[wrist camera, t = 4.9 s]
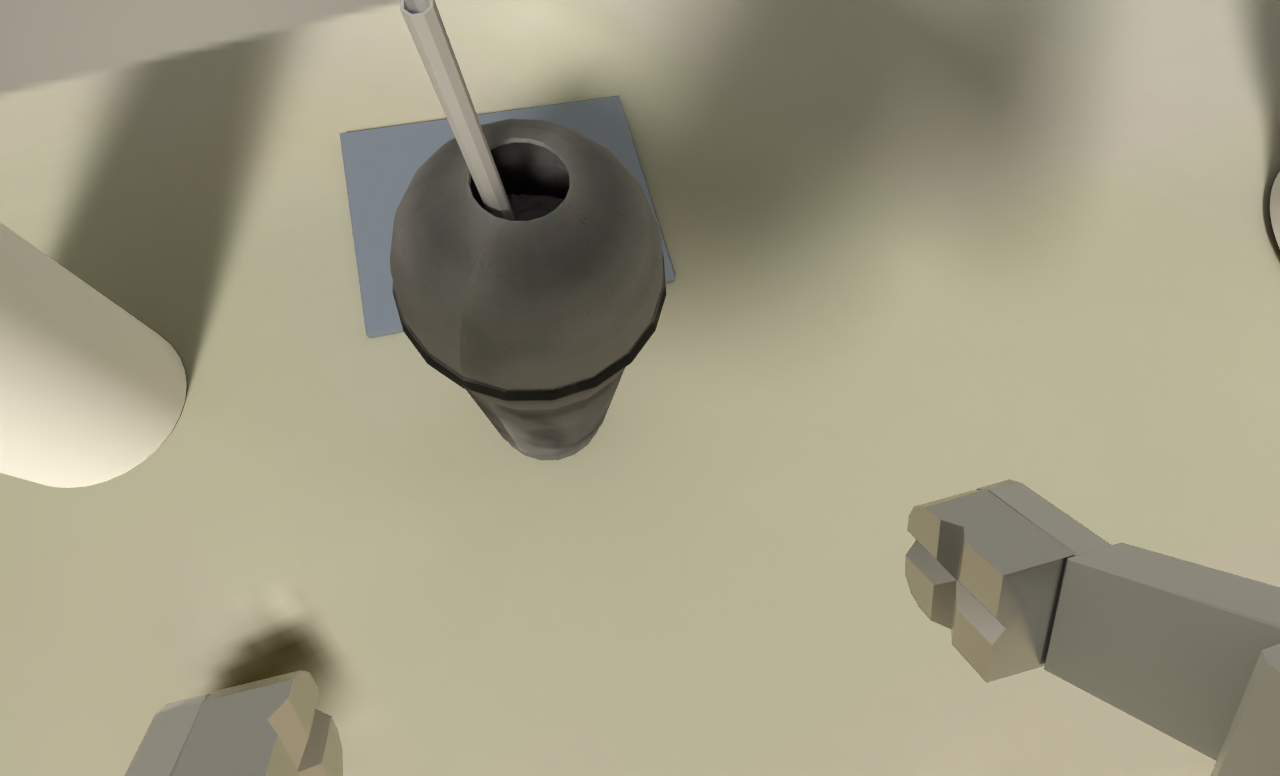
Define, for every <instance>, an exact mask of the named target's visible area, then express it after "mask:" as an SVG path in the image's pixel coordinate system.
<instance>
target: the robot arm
mask: <svg viewBox="0 0 1280 776" xmlns="http://www.w3.org/2000/svg"><path fill="white" fill-rule="evenodd" d="M1270 216H1271V222H1272V227H1273V231H1274V235H1275V238H1276V241H1277V243H1278V246H1279V248H1280V171H1279V173H1278V175H1277V177H1276V179H1275V181H1274V184H1273V187H1272V191H1271V197H1270ZM908 531H909V533H910V534H911V535H912V536H913V537H914V538H915V539H916V541H915V543H914V544H913V545H912V547H911V548H910V550H909V551H908V553H907V554H906V561H905V575H906V578H907V582H908V585H909V588H910V592H911V594H912V596H913V597H914V599H915V601H916V602H917V604H918V606H919V607H920V608H921V610H922V611H923V612H924V613H925V614H926V615H927V617H928V618H929V619H930V620H931V621H934V622H936V623H938V624H941V625H943V626H945V627H948V628H950V629H951V636H952V645H953V646H954V647H955V648H956V649H957V650H958V652H959V653H960V654H961V655H962V656H963V657H964V658H965V659H966V660H967V662H968V663H969V664H970V665H971V666H972V667H973V668H974V669H975V670H976V672H977V673H978V674H979V675H980V676H981V677H982V678H983V679H984V681H985V682H990V681H993V680H997V679H1000V678H1004V677H1007V676H1011V675H1014V674H1017V673H1021V672H1024V671H1028V670H1031V669H1035V668H1038V667H1042V666H1045V667H1044V669H1045V670H1046V671H1048V672H1050V673H1052V674H1054V675H1056V676H1058V677H1060V678H1062V679H1063V680H1065V681H1067V682H1069V683H1071V684H1073V685H1075V686H1077V687H1078V688H1080V689H1082V690H1084V691H1086V692H1088V693H1090V694H1092V695H1094V696H1095V697H1097V698H1099V699H1101V700H1103V701H1105V702H1107V703H1109V704H1111V705H1112V706H1114V707H1116V708H1118V709H1120V710H1122V711H1124V712H1126V713H1127V714H1129V715H1131V716H1133V717H1135V718H1137V719H1139V720H1141V721H1143V722H1144V723H1146V724H1148V725H1150V726H1152V727H1154V728H1156V729H1158V730H1159V731H1161V732H1163V733H1165V734H1167V735H1169V736H1171V737H1173V738H1175V739H1176V740H1178V741H1180V742H1182V743H1184V744H1186V745H1188V746H1190V747H1192V748H1193V749H1195V750H1197V751H1199V752H1201V753H1203V754H1205V755H1207V756H1208V757H1210V758H1212V759H1214V760H1216V764H1215V766H1214V769H1213V771H1212V774H1211V776H1280V588H1279V587H1276V586H1272V585H1269V584H1265V583H1262V582H1258V581H1255V580H1251V579H1248V578H1244V577H1241V576H1237V575H1234V574H1230V573H1227V572H1223V571H1219V570H1216V569H1212V568H1209V567H1205V566H1202V565H1198V564H1195V563H1191V562H1188V561H1184V560H1181V559H1177V558H1174V557H1170V556H1167V555H1163V554H1160V553H1156V552H1153V551H1149V550H1146V549H1142V548H1139V547H1135V546H1132V545H1128V544H1125V543H1119V544H1116V545H1111V544H1109V543H1108V542H1106V541H1105V540H1103V539H1102V538H1100V537H1099V536H1098V535H1096V534H1095V533H1093V532H1092V531H1090V530H1089V529H1087V528H1086V527H1085V526H1083V525H1082V524H1080V523H1079V522H1077V521H1076V520H1074V519H1073V518H1072V517H1070V516H1069V515H1067V514H1066V513H1064V512H1063V511H1061V510H1060V509H1059V508H1057V507H1056V506H1054V505H1053V504H1051V503H1050V502H1048V501H1047V500H1045V499H1044V498H1043V497H1041V496H1040V495H1038V494H1037V493H1035V492H1034V491H1032V490H1031V489H1030V488H1028V487H1027V486H1025V485H1024V484H1022V483H1020V482H1017V481H1013V480H1006V481H1002V482H999V483H995V484H992V485H988V486H985V487H981V488H978V489H977V490H973V491H969V492H965V493H962V494H958V495H954V496H951V497H947V498H943V499H940V500H936V501H933V502H929V503H925V504H922V505H918V506H914V507H913V509H912V511H911V513H910V515H909V520H908ZM318 695H319V689H318V688H317V686H316V684H315V682H314V680H313V678H312V676H311V675H310V673H309V672H305V671H297V672H293V673H289V674H285V675H281V676H276V677H272V678H268V679H264V680H260V681H256V682H252V683H248V684H244V685H239V686H235V687H231V688H227V689H223V690H219V691H215V692H213V693H212V694H207V695H203V696H198V697H194V698H190V699H186V700H182V701H177V702H173V703H169V704H167V705H166V706H165V707H164V708H162V709H161V710H160V711H159V712H158V713H157V714H156V715H155V716H154V718H153V720H152V722H151V724H150V726H149V728H148V730H147V732H146V734H145V736H144V738H143V740H142V742H141V744H140V746H139V748H138V750H137V752H136V754H135V756H134V758H133V760H132V762H131V764H130V766H129V768H128V770H127V772H126V774H125V776H343V761H342V746H341V742H340V737H339V733H338V730H337V727H336V725H335V723H334V721H333V719H332V716H330V715H328V714H325V713H323V712H321V711H319V710H317V709H315V708H316V704H317V699H318Z"/></svg>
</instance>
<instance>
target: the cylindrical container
mask: <svg viewBox="0 0 1280 776" xmlns="http://www.w3.org/2000/svg"><path fill="white" fill-rule="evenodd" d="M186 388H187V383H186V374H185V370H184V367H183V364H182V361H181V359H180V357H179V355H178V354H177V352H176V351H175V350H174V348H173V347H172V345H170V344H169V343H168V342H167V341H166V340H165V339H164V338H162V337H161V336H160V335H159V334H157V333H156V332H154V331H153V330H152V329H150V328H149V327H147V326H146V325H145V324H143V323H142V322H140V321H139V320H137V319H136V318H135V317H133V316H132V315H130V314H129V313H128V312H126V311H125V310H123V309H122V308H121V307H119V306H118V305H116V304H115V303H113V302H112V301H111V300H109V299H108V298H106V297H105V296H104V295H102V294H101V293H99V292H98V291H96V290H95V289H94V288H92V287H91V286H89V285H88V284H87V283H85V282H84V281H82V280H81V279H80V278H78V277H77V276H75V275H74V274H72V273H71V272H70V271H68V270H67V269H65V268H64V267H63V266H61V265H60V264H58V263H57V262H56V261H54V260H53V259H51V258H50V257H48V256H47V255H46V254H44V253H43V252H41V251H40V250H39V249H37V248H36V247H34V246H33V245H32V244H30V243H29V242H27V241H26V240H24V239H23V238H22V237H20V236H19V235H17V234H16V233H15V232H13V231H12V230H10V229H9V228H8V227H6V226H5V225H3V224H2V223H0V473H3V474H7V475H10V476H14V477H18V478H21V479H25V480H29V481H32V482H36V483H39V484H43V485H47V486H50V487H64V488H74V487H83V486H90V485H94V484H97V483H101V482H105V481H108V480H110V479H112V478H115V477H117V476H119V475H122V474H124V473H126V472H127V471H129V470H131V469H132V468H134V467H135V466H137V465H139V464H140V463H142V462H143V461H144V460H146V459H147V458H148V457H149V456H150V455H151V454H152V453H153V452H155V451H156V450H157V449H158V448H159V447H160V446H161V444H162V443H163V442H164V441H165V439H166V438H167V437H168V436H169V435H170V433H171V432H172V430H173V428H174V426H175V425H176V423H177V421H178V419H179V417H180V415H181V412H182V409H183V406H184V402H185V397H186Z"/></svg>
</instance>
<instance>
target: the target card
mask: <svg viewBox="0 0 1280 776" xmlns="http://www.w3.org/2000/svg"><path fill="white" fill-rule="evenodd" d="M477 117H478V119H479V122H480V125H484V124H488V123H493V122H497V121H502V120H506V119H529V120H544V121H547V122H551V123H554V124H558V125H561V126H565V127H568V128H572V129H574V130H576V131H579V132H580V133H582V134H584V135H585V136H587V137H589V138H590V139H592V140H594V141H595V142H597V143H599V144H600V145H602V146H604V147H605V148H607V149H608V150H610V152H611V153H612V154H613V155H614V156H615V157H616V158H617V159H618V160H619V161H620V163H621V164H622V165H623V166H624V167H625V168H626V169H627V170H628V171H629V173H630V174H631V175H632V176H633V177H634V178H635V179H636V180H637V181H638V182H639V184H640V186H641V188H642V190H643V192H644V194H645V196H646V199H647V201H648V203H649V206H650V208H651V210H652V213H653V215H654V217H655V219H656V222H657V224H658V226H659V223H658V220H657V217H656V214H655V210H654V207H653V204H652V201H651V198H650V194H649V191H648V188H647V185H646V182H645V178H644V175H643V172H642V169H641V165H640V162H639V159H638V156H637V153H636V149H635V146H634V143H633V140H632V137H631V133H630V130H629V127H628V124H627V121H626V117H625V114H624V111H623V108H622V104H621V101H620V98H619V96H612V97H605V98H598V99H590V100H583V101H576V102H568V103H561V104H553V105H546V106H539V107H531V108H524V109H517V110H509V111H502V112H495V113H487V114H480V115H477ZM453 138H455V136H454V133H453V131H452V129H451V126H450V124H449V122H448V119H443V120H436V121H429V122H421V123H414V124H406V125H399V126H392V127H384V128H377V129H370V130H362V131H355V132H348V133H340V139H341V147H342V154H343V162H344V169H345V177H346V185H347V192H348V200H349V207H350V215H351V222H352V230H353V238H354V245H355V253H356V260H357V268H358V275H359V283H360V291H361V298H362V306H363V313H364V321H365V328H366V335H367V336H368V337H369V338H373V337H378V336H383V335H389V334H394V333H399V332H404V331H403V328H402V325H401V321H400V317H399V314H398V310H397V306H396V303H395V299H394V296H393V279H392V275H391V270H390V251H391V242H392V232H393V223H394V218H395V214H396V210H397V208H398V206H399V204H400V202H401V200H402V198H403V196H404V194H405V192H406V190H407V188H408V186H409V184H410V182H411V180H412V178H413V177H414V175H415V173H416V172H417V170H418V169H419V168H420V167H421V166H422V165H423V164H424V163H425V162H426V161H427V160H428V159H429V158H430V157H431V156H432V155H433V154H434V153H435V152H436V151H437V150H438V149H439V148H440V147H441V146H442V145H444V144H445V143H446V142H448V141H449V140H451V139H453ZM659 231H660V237H661V249H662V252H663V256H664V267H665V283H666V282H671V281H674V279H675V275H674V271H673V268H672V265H671V262H670V259H669V255H668V252H667V249H666V246H665V243H664V239H663V236H662V233H661V230H660V226H659Z"/></svg>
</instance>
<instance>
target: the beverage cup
mask: <svg viewBox="0 0 1280 776" xmlns="http://www.w3.org/2000/svg"><path fill="white" fill-rule="evenodd" d="M400 10H401V13H402V15H403V17H404V20H405V22H406V24H407V26H408V29H409V31H410V33H411V36H412V38H413V40H414V43H415V45H416V47H417V50H418V52H419V54H420V57H421V59H422V61H423V64H424V66H425V68H426V71H427V73H428V75H429V78H430V80H431V82H432V85H433V87H434V89H435V92H436V94H437V96H438V99H439V101H440V103H441V105H442V108H443V110H444V112H445V115H446V117H447V119H448V122H449V124H450V126H451V129H452V131H453V133H454V136H455V138H453V139H451V140H449V141H448V142H446V143H445V144H444V145H442V146H441V147H440V148H439V149H438V150H437V151H436V152H435V153H434V154H433V155H432V156H431V157H430V158H429V159H428V160H427V161H426V162H425V163H424V164H423V165H422V166H421V167H420V168H419V169H418V170H417V172H416V173H415V175H414V177H413V178H412V180H411V182H410V184H409V186H408V188H407V190H406V192H405V194H404V196H403V198H402V200H401V202H400V204H399V206H398V208H397V210H396V214H395V218H394V223H393V232H392V242H391V251H390V270H391V275H392V279H393V296H394V299H395V303H396V306H397V310H398V314H399V317H400V321H401V325H402V328H403V331H404V332H405V334H406V335H407V336H408V338H409V339H410V340H411V342H412V343H413V345H414V346H415V347H416V349H417V350H418V351H419V353H420V354H421V356H422V357H423V358H424V360H425V361H426V362H427V364H429V365H430V366H432V367H433V368H435V369H436V370H438V371H439V372H440V373H442V374H443V375H445V376H446V377H448V378H449V379H451V380H452V381H454V382H455V383H456V384H458V385H459V386H461V387H462V388H464V389H466V390H467V391H468V393H469V394H470V395H471V397H472V398H473V399H474V400H475V402H476V403H477V404H478V406H479V407H480V408H481V410H482V411H483V412H484V413H485V415H486V416H487V417H488V419H489V420H490V421H491V423H492V424H493V425H494V426H495V428H496V429H497V430H498V432H499V433H500V434H501V436H502V437H503V438H504V439H505V440H506V441H508V442H509V443H510V444H511V446H512V447H514V448H515V449H517V450H518V451H520V452H521V453H523V454H524V455H526V456H529V457H533V458H536V459H539V460H559V459H562V458H565V457H568V456H571V455H574V454H575V453H577V452H578V451H580V450H581V449H582V448H584V447H585V446H586V445H588V443H589V442H590V441H591V439H592V438H593V437H594V435H595V434H596V432H597V430H598V428H599V427H600V425H601V424H602V423H603V420H604V418H605V415H606V413H607V410H608V408H609V405H610V403H611V401H612V398H613V396H614V393H615V391H616V388H617V386H618V383H619V381H620V378H621V376H622V374H623V371H624V369H625V367H626V366H627V365H629V364H630V363H631V362H632V361H633V360H634V358H635V357H636V356H637V354H638V353H639V352H640V350H641V349H642V348H643V346H644V345H645V344H646V342H647V341H648V340H649V338H650V337H651V335H652V334H653V333H654V331H655V329H656V326H657V323H658V320H659V316H660V313H661V310H662V306H663V303H664V300H665V296H666V284H665V267H664V256H663V252H662V249H661V237H660V231H659V226H658V224H657V222H656V219H655V217H654V215H653V213H652V210H651V208H650V206H649V203H648V201H647V199H646V196H645V194H644V192H643V190H642V188H641V186H640V184H639V182H638V181H637V180H636V179H635V178H634V177H633V176H632V175H631V174H630V173H629V171H628V170H627V169H626V168H625V167H624V166H623V165H622V164H621V163H620V161H619V160H618V159H617V158H616V157H615V156H614V155H613V154H612V153H611V152H610V150H608V149H607V148H605V147H604V146H602V145H600V144H599V143H597V142H595V141H594V140H592V139H590V138H589V137H587V136H585V135H584V134H582V133H580V132H579V131H576V130H574V129H572V128H568V127H565V126H561V125H558V124H554V123H551V122H547V121H544V120H529V119H506V120H502V121H497V122H493V123H488V124H484V125H480V122H479V119H478V117H477V114H476V111H475V109H474V106H473V103H472V101H471V98H470V95H469V92H468V90H467V87H466V84H465V82H464V79H463V76H462V74H461V71H460V68H459V65H458V63H457V60H456V57H455V55H454V52H453V49H452V47H451V44H450V41H449V38H448V36H447V33H446V30H445V28H444V25H443V22H442V20H441V17H440V14H439V11H438V9H437V6H436V3H435V1H434V0H400Z"/></svg>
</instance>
